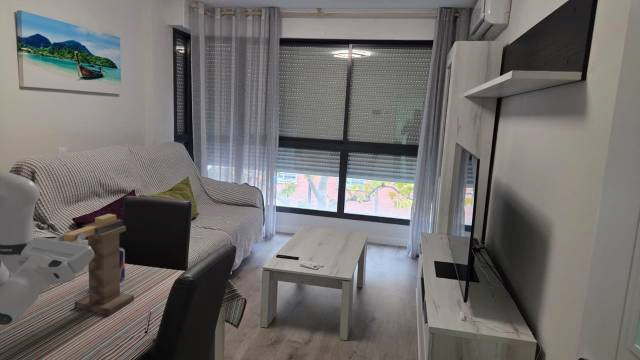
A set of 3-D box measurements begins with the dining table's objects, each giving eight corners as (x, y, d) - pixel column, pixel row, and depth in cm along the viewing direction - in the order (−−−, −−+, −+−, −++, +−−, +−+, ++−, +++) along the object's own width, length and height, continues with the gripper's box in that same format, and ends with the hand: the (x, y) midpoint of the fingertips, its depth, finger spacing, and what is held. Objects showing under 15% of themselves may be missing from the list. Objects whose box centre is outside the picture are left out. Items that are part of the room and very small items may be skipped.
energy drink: (118, 283, 154) (118, 253, 152) (106, 281, 155) (105, 251, 153) (127, 277, 159) (127, 248, 157) (115, 275, 160) (115, 246, 158)
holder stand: (74, 307, 134) (72, 224, 130) (100, 293, 145) (98, 216, 140) (110, 315, 131) (109, 230, 126) (133, 300, 142) (133, 221, 137)
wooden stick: (63, 240, 121) (63, 227, 120) (108, 225, 138) (108, 213, 137) (72, 241, 120) (71, 228, 119) (116, 226, 137) (116, 214, 136)
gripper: (18, 270, 117) (53, 235, 127) (77, 282, 112) (108, 245, 123) (6, 255, 113) (43, 221, 124) (67, 267, 109) (100, 230, 119)
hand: (76, 233), depth 123 cm, fingers closed on wooden stick, 3 cm apart
